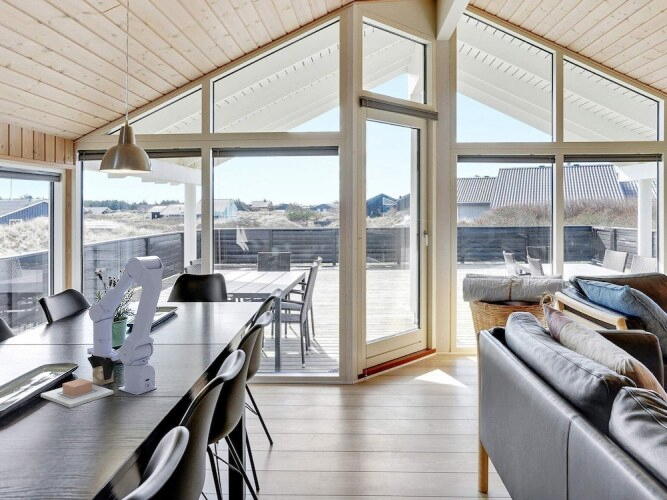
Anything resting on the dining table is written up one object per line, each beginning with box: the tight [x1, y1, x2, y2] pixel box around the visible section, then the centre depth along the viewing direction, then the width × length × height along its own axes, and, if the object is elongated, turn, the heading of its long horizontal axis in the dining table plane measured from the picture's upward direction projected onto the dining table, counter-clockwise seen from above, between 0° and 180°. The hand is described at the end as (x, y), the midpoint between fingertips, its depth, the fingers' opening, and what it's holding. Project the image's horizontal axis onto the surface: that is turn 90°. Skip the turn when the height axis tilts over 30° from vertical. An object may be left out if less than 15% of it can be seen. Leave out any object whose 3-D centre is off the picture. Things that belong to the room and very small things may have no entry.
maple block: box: [91, 366, 114, 386], centre depth 165 cm, size 5×5×5 cm
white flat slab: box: [40, 378, 115, 408], centre depth 152 cm, size 16×14×4 cm
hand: (102, 377), depth 165 cm, fingers open, 5 cm apart
